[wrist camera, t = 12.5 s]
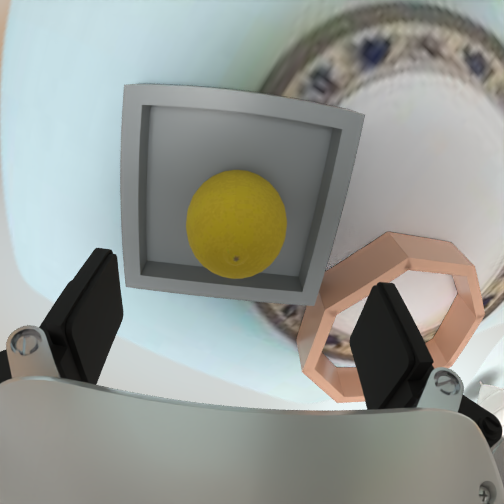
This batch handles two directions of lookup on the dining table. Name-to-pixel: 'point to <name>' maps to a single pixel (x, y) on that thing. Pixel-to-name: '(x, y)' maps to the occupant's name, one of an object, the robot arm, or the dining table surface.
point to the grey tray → (224, 159)
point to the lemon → (236, 224)
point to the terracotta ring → (359, 286)
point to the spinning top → (492, 401)
